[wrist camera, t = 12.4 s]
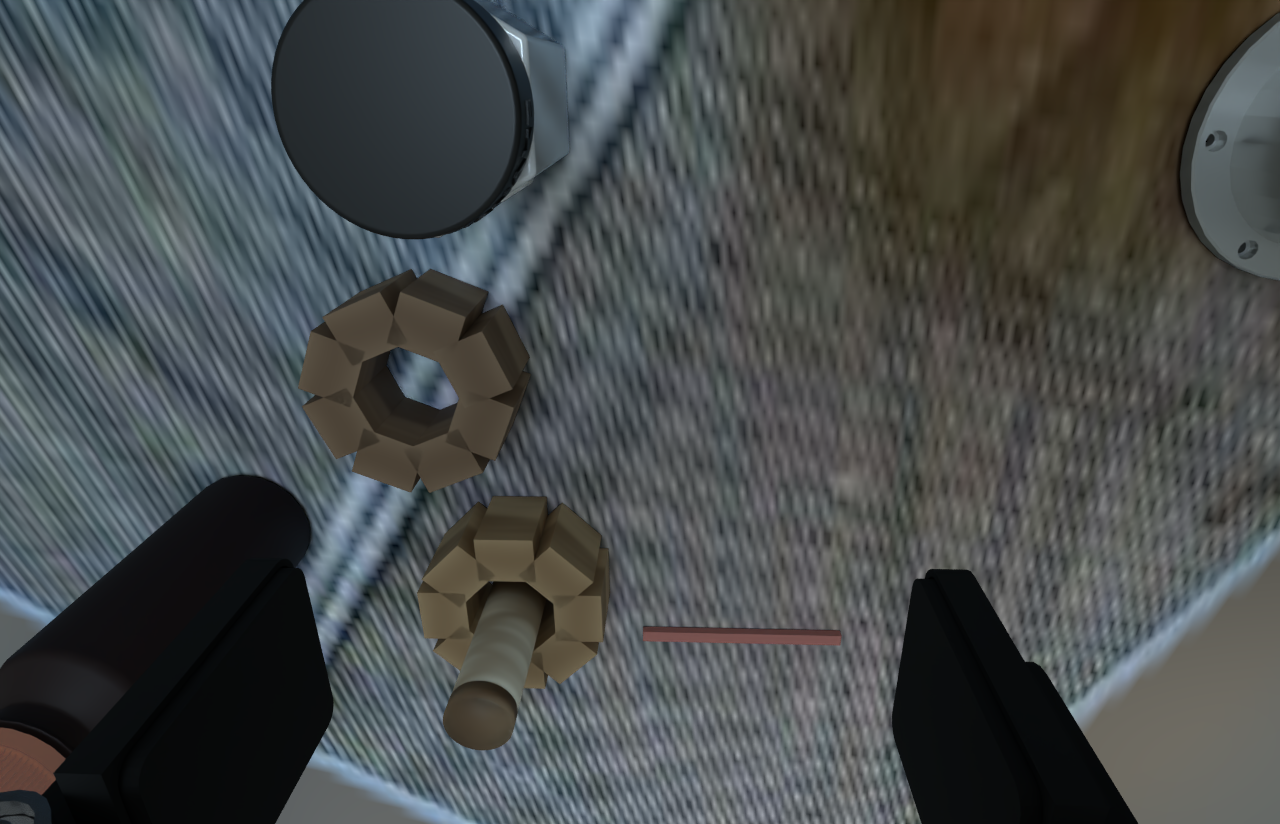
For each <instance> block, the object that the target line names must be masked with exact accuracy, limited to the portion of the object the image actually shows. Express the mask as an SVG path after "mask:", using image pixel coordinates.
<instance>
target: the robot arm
mask: <svg viewBox="0 0 1280 824" xmlns="http://www.w3.org/2000/svg"><path fill="white" fill-rule="evenodd" d="M1207 138H1208V141H1207V143H1206V140H1207ZM1180 181H1181V194H1182V201H1183V204H1184V208H1185V211H1186V214H1187V217H1188V220H1189V223H1190V225H1191V226H1192V228H1193V229H1194V231H1195V233H1196V234H1197V236H1198V238H1199V239H1200V241H1201V242H1202V243H1203V244H1204V245H1205V246H1206V247H1207V248H1208V249H1209V250H1210V251H1211V252H1212V253H1213V254H1214V255H1215V256H1216V257H1217V258H1219V259H1221V260H1223V261H1224V262H1226V263H1228V264H1230V265H1231V266H1233V267H1235V268H1237V269H1239V270H1242V271H1245V272H1248V273H1251V274H1254V275H1256V276H1259V277H1263V278H1269V279H1274V280H1279V281H1280V13H1278V14H1276V15H1275V16H1274V17H1273V18H1271V19H1270V20H1269V21H1268V22H1266V23H1265V24H1264V25H1263V26H1261V27H1260V28H1259V29H1258V30H1256V31H1255V32H1254V33H1253V34H1252V35H1250V36H1249V37H1248V38H1247V39H1246V40H1245V41H1244V42H1243V44H1242V45H1241V46H1240V47H1239V48H1238V49H1237V50H1236V51H1235V52H1234V53H1233V54H1232V55H1231V56H1230V58H1229V59H1228V60H1227V61H1226V62H1225V63H1224V65H1223V66H1222V67H1221V69H1220V70H1219V72H1218V73H1217V75H1216V76H1215V78H1214V79H1213V80H1212V82H1211V83H1210V85H1209V86H1208V88H1207V89H1206V91H1205V93H1204V95H1203V97H1202V99H1201V101H1200V103H1199V105H1198V107H1197V109H1196V111H1195V113H1194V115H1193V117H1192V120H1191V123H1190V126H1189V129H1188V133H1187V136H1186V139H1185V142H1184V146H1183V152H1182V161H1181V169H1180ZM332 713H333V696H332V692H331V687H330V683H329V679H328V674H327V670H326V666H325V662H324V657H323V653H322V649H321V644H320V640H319V636H318V632H317V627H316V623H315V619H314V615H313V610H312V606H311V602H310V597H309V593H308V589H307V585H306V580H305V576H304V574H303V572H302V570H301V569H298V568H294V566H293V564H292V562H291V561H290V560H288V559H281V558H250V559H247V560H246V561H245V562H243V563H242V564H241V566H240V567H239V568H238V569H237V570H236V571H235V572H234V573H233V574H232V576H231V577H230V578H229V579H228V580H227V581H226V582H225V583H224V584H223V586H222V587H221V588H220V589H219V590H218V591H217V592H216V593H215V594H214V595H213V597H212V598H211V599H210V600H209V601H208V602H207V603H206V604H205V605H204V607H203V608H202V609H201V610H200V611H199V612H198V613H197V614H196V615H195V617H194V618H193V619H192V620H191V621H190V622H189V623H188V624H187V625H186V627H185V628H184V629H183V630H182V631H181V632H180V633H179V634H178V635H177V636H176V638H175V639H174V640H173V641H172V642H171V643H170V644H169V645H168V646H167V648H166V649H165V650H164V651H163V652H162V653H161V654H160V655H159V656H158V658H157V659H156V660H155V661H154V662H153V663H152V664H151V665H150V666H149V667H148V669H147V670H146V671H145V672H144V673H143V674H142V675H141V676H140V677H139V679H138V680H137V681H136V682H135V683H134V684H133V685H132V686H131V687H130V689H129V690H128V691H127V692H126V693H125V694H124V695H123V696H122V697H121V699H120V700H119V701H118V702H117V703H116V704H115V705H114V706H113V707H112V708H111V710H110V711H109V712H108V713H107V714H106V715H105V716H104V717H103V718H102V720H101V721H100V722H99V723H98V724H97V725H96V726H95V727H94V728H93V730H92V731H91V732H90V733H89V734H88V735H87V736H86V737H85V738H84V740H83V741H82V742H81V743H80V744H79V745H78V746H77V747H76V748H75V749H74V751H73V752H72V753H71V754H70V755H69V756H68V757H67V758H66V759H65V761H64V762H63V763H62V764H61V765H60V766H59V767H58V768H57V769H56V771H55V772H54V773H53V774H54V776H55V778H56V780H55V781H54V782H53V783H52V784H51V785H50V786H49V788H48V789H47V790H46V791H45V792H44V793H43V794H42V795H40V794H39V793H37V792H35V791H26V790H14V791H7V792H0V824H275V823H276V821H277V819H278V817H279V816H280V814H281V811H282V810H283V808H284V806H285V804H286V803H287V801H288V799H289V797H290V795H291V793H292V792H293V789H294V788H295V786H296V784H297V782H298V781H299V779H300V777H301V775H302V773H303V771H304V770H305V768H306V766H307V764H308V762H309V760H310V759H311V757H312V755H313V753H314V751H315V749H316V747H317V746H318V744H319V742H320V740H321V738H322V736H323V735H324V733H325V731H326V729H327V727H328V725H329V723H330V721H331V717H332ZM892 727H893V734H894V739H895V742H896V746H897V749H898V752H899V755H900V758H901V761H902V764H903V767H904V770H905V773H906V777H907V780H908V783H909V786H910V789H911V792H912V795H913V798H914V801H915V804H916V807H917V811H918V814H919V817H920V820H921V823H922V824H1138V822H1137V821H1136V819H1135V817H1134V816H1133V814H1132V812H1131V811H1130V809H1129V808H1128V806H1127V804H1126V803H1125V801H1124V800H1123V798H1122V796H1121V795H1120V793H1119V792H1118V790H1117V788H1116V787H1115V785H1114V783H1113V782H1112V780H1111V778H1110V777H1109V775H1108V773H1107V772H1106V770H1105V768H1104V767H1103V765H1102V764H1101V762H1100V760H1099V759H1098V757H1097V755H1096V754H1095V752H1094V751H1093V749H1092V747H1091V746H1090V744H1089V742H1088V741H1087V739H1086V737H1085V736H1084V734H1083V733H1082V731H1081V729H1080V728H1079V726H1078V724H1077V723H1076V721H1075V720H1074V718H1073V716H1072V715H1071V713H1070V711H1069V710H1068V708H1067V707H1066V705H1065V703H1064V702H1063V700H1062V698H1061V697H1060V695H1059V693H1058V692H1057V690H1056V689H1055V687H1054V685H1053V684H1052V682H1051V680H1050V679H1049V677H1048V676H1047V674H1046V673H1045V672H1044V670H1043V669H1042V668H1041V666H1039V665H1038V664H1036V663H1034V662H1025V661H1024V660H1023V658H1022V656H1021V655H1020V653H1019V651H1018V649H1017V648H1016V646H1015V644H1014V643H1013V641H1012V639H1011V638H1010V636H1009V634H1008V632H1007V631H1006V629H1005V627H1004V626H1003V624H1002V622H1001V621H1000V619H999V617H998V615H997V614H996V612H995V610H994V609H993V607H992V605H991V604H990V602H989V600H988V598H987V597H986V595H985V593H984V592H983V590H982V588H981V587H980V585H979V583H978V581H977V580H976V578H975V576H974V575H973V574H972V572H971V571H969V570H951V569H930V570H928V571H927V573H926V575H925V579H915V581H914V582H913V586H912V592H911V598H910V605H909V611H908V617H907V624H906V630H905V636H904V643H903V649H902V655H901V662H900V668H899V674H898V681H897V687H896V693H895V700H894V706H893V712H892Z"/></svg>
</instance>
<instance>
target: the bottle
mask: <svg viewBox="0 0 1280 824" xmlns="http://www.w3.org/2000/svg"><path fill="white" fill-rule="evenodd" d="M309 541H310V532H309V523H308V521H307V519H306V516H305V514H304V512H303V510H302V508H301V507H300V506H299V504H298V503H297V502H296V501H295V500H294V499H293V497H292V496H291V495H290V494H288V493H287V492H285V491H284V490H283V489H281V488H280V487H278V486H277V485H276V484H273V483H271V482H268V481H266V480H263V479H261V478H258V477H250V476H242V475H239V476H233V477H227V478H222V479H220V480H218V481H216V482H215V483H213V484H211V485H209V486H208V487H206V488H205V489H204V490H203V491H202V492H200V493H199V494H198V495H197V496H196V497H195V498H194V499H192V500H191V501H190V502H189V503H188V504H187V505H185V506H184V507H183V508H182V509H181V510H180V511H178V512H177V513H176V514H175V515H174V516H173V517H172V518H170V519H169V520H168V521H167V522H166V523H165V524H163V525H162V526H161V527H160V528H159V529H158V530H156V531H155V532H154V533H153V534H152V535H151V536H150V537H148V538H147V539H146V540H145V541H144V542H143V543H141V544H140V545H139V546H138V547H137V548H136V549H135V550H133V551H132V552H131V553H130V554H129V555H128V556H126V557H125V558H124V559H123V560H122V561H121V562H119V563H118V564H117V565H116V566H115V567H114V568H113V569H111V570H110V571H109V572H108V573H107V574H106V575H104V576H103V577H102V578H101V579H100V580H99V581H97V582H96V583H95V584H94V585H93V586H92V587H91V588H89V589H88V590H87V591H86V592H85V593H84V594H82V595H81V596H80V597H79V598H78V599H77V600H75V601H74V602H73V603H72V604H71V605H70V606H69V607H67V608H66V609H65V610H64V611H63V612H62V613H60V614H59V615H58V616H57V617H56V618H55V619H53V620H52V621H51V622H50V623H49V624H48V625H47V626H45V627H44V628H43V629H42V630H41V631H40V632H38V633H37V634H36V635H35V636H34V637H33V638H32V639H30V640H29V641H28V642H27V643H26V644H25V645H23V646H22V647H21V648H20V649H19V650H18V651H17V652H15V653H14V654H13V655H12V656H11V657H10V658H8V659H7V660H6V662H5V663H4V664H3V665H2V667H1V668H0V792H7V791H14V790H26V791H35V792H37V793H39V794H40V795H42V794H43V793H44V792H45V791H46V790H47V789H48V788H49V786H50V785H51V784H52V783H53V782H54V781H55V780H56V778H55V776H54V774H53V773H54V772H55V771H56V769H57V768H58V767H59V766H60V765H61V764H62V763H63V762H64V761H65V759H66V758H67V757H68V756H69V755H70V754H71V753H72V752H73V751H74V749H75V748H76V747H77V746H78V745H79V744H80V743H81V742H82V741H83V740H84V738H85V737H86V736H87V735H88V734H89V733H90V732H91V731H92V730H93V728H94V727H95V726H96V725H97V724H98V723H99V722H100V721H101V720H102V718H103V717H104V716H105V715H106V714H107V713H108V712H109V711H110V710H111V708H112V707H113V706H114V705H115V704H116V703H117V702H118V701H119V700H120V699H121V697H122V696H123V695H124V694H125V693H126V692H127V691H128V690H129V689H130V687H131V686H132V685H133V684H134V683H135V682H136V681H137V680H138V679H139V677H140V676H141V675H142V674H143V673H144V672H145V671H146V670H147V669H148V667H149V666H150V665H151V664H152V663H153V662H154V661H155V660H156V659H157V658H158V656H159V655H160V654H161V653H162V652H163V651H164V650H165V649H166V648H167V646H168V645H169V644H170V643H171V642H172V641H173V640H174V639H175V638H176V636H177V635H178V634H179V633H180V632H181V631H182V630H183V629H184V628H185V627H186V625H187V624H188V623H189V622H190V621H191V620H192V619H193V618H194V617H195V615H196V614H197V613H198V612H199V611H200V610H201V609H202V608H203V607H204V605H205V604H206V603H207V602H208V601H209V600H210V599H211V598H212V597H213V595H214V594H215V593H216V592H217V591H218V590H219V589H220V588H221V587H222V586H223V584H224V583H225V582H226V581H227V580H228V579H229V578H230V577H231V576H232V574H233V573H234V572H235V571H236V570H237V569H238V568H239V567H240V566H241V564H242V563H243V562H245V561H246V560H247V559H250V558H281V559H288V560H290V561H291V562H292V564H293V566H294V568H295V567H296V566H297V564H298V563H299V562H300V560H301V559H302V558H303V557H304V555H305V553H306V550H307V547H308V544H309Z"/></svg>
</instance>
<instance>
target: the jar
mask: <svg viewBox="0 0 1280 824" xmlns="http://www.w3.org/2000/svg"><path fill="white" fill-rule="evenodd" d="M271 94H272V105H273V111H274V116H275V121H276V125H277V128H278V132H279V135H280V138H281V140H282V143H283V146H284V148H285V150H286V152H287V154H288V156H289V158H290V160H291V162H292V164H293V165H294V167H295V169H296V170H297V172H298V173H299V175H300V176H301V178H302V179H303V180H304V182H305V183H306V184H307V185H308V187H309V188H310V189H311V190H312V191H313V192H314V194H315V195H316V196H317V197H318V198H319V199H320V200H321V201H322V202H324V203H325V204H326V205H327V206H328V207H329V208H330V209H332V210H333V211H334V212H336V213H337V214H338V215H340V216H341V217H343V218H344V219H346V220H348V221H349V222H351V223H353V224H355V225H357V226H359V227H361V228H363V229H366V230H368V231H370V232H373V233H377V234H380V235H383V236H388V237H393V238H400V239H426V238H433V237H436V238H439V237H442V236H443V235H446V234H450V233H453V232H456V231H458V230H460V229H462V228H466V227H468V226H470V225H471V224H472V223H475V222H477V221H478V220H480V219H481V218H483V217H484V216H486V215H487V214H488V213H490V212H491V211H492V210H493V209H494V208H495V207H496V206H498V205H499V204H500V203H502V202H503V201H505V200H506V199H508V198H510V197H511V196H513V195H514V194H516V193H517V192H519V191H520V190H522V189H524V188H525V187H527V186H528V185H530V184H531V183H533V181H534V177H536V176H537V175H538V174H540V173H541V172H543V171H544V170H546V169H547V168H549V167H550V166H552V165H553V164H555V163H556V162H557V161H559V160H560V159H562V158H563V157H565V156H566V155H567V154H568V153H569V129H568V108H567V87H566V65H565V49H564V47H563V45H562V44H560V43H559V42H557V41H555V40H554V39H552V38H550V37H549V36H547V35H545V34H544V33H542V32H541V31H539V30H537V29H536V28H534V27H532V26H531V25H529V24H527V23H526V22H524V21H523V20H521V19H519V18H518V17H516V16H514V15H513V14H511V13H509V12H508V11H506V10H505V9H503V8H501V7H500V6H498V5H496V4H495V3H493V2H491V1H490V0H304V1H303V2H302V3H301V4H300V5H299V6H298V7H297V9H296V10H295V11H294V13H293V14H292V16H291V17H290V19H289V20H288V22H287V24H286V26H285V28H284V30H283V32H282V34H281V37H280V39H279V42H278V45H277V49H276V52H275V56H274V62H273V67H272V78H271ZM492 208H493V209H492ZM473 221H474V222H473Z"/></svg>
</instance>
